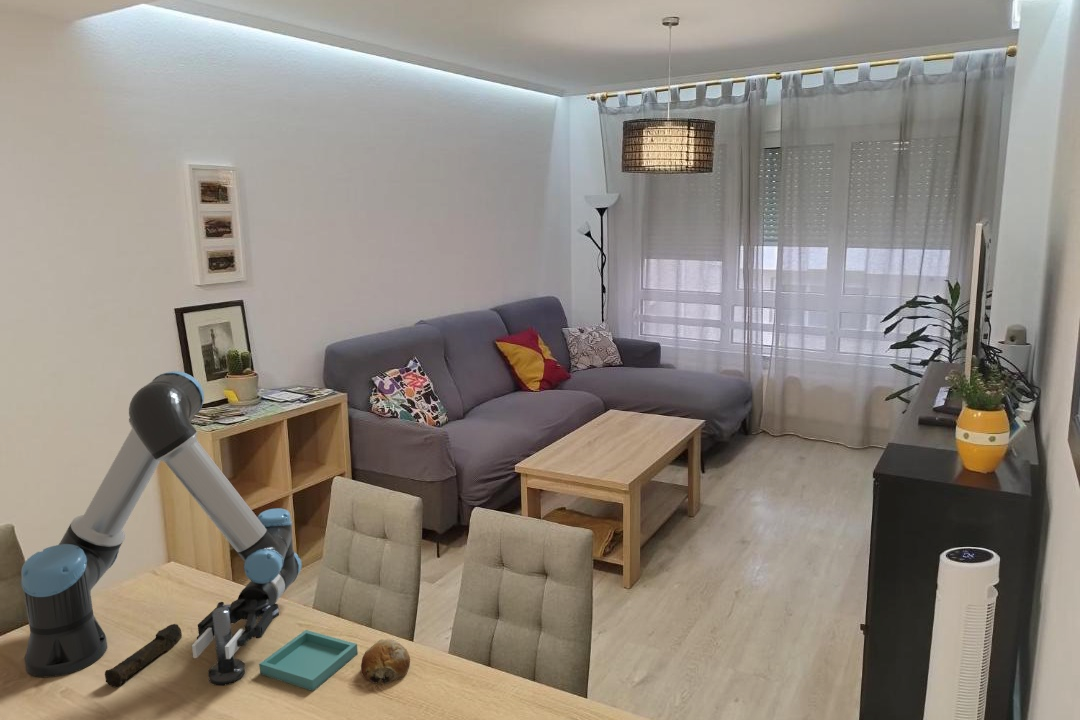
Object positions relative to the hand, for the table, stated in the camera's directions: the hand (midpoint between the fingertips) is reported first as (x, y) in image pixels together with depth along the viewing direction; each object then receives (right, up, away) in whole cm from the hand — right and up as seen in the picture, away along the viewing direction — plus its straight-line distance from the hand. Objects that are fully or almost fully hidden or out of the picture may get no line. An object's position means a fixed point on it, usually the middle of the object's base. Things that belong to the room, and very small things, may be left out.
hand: (210, 652), depth 153 cm
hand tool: (-19, -7, +12) cm, 24 cm away
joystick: (+1, -7, +7) cm, 10 cm away
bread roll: (+33, -7, +8) cm, 35 cm away
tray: (+17, -6, +10) cm, 20 cm away
